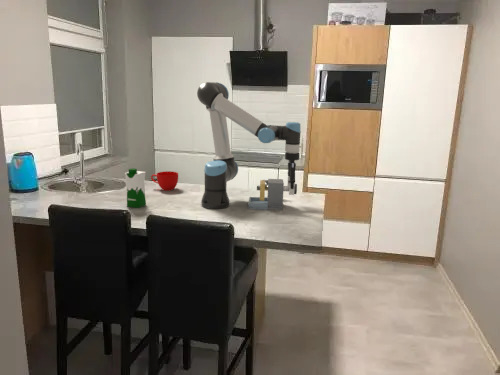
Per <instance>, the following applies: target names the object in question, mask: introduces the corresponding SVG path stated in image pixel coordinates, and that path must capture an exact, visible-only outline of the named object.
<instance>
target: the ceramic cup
mask: <svg viewBox="0 0 500 375" xmlns="http://www.w3.org/2000/svg"><path fill="white" fill-rule="evenodd" d="M153 177H156V180H155V179H154V178H153ZM150 179H151V180H152V181H153V182H154V183H155V184H158V186H159V188H161V190H162V191H173V190H174V189H175V188H176V187H177V185H178V182H179V172H177V171H159V172H157V173H156V174H152V175H151V177H150Z"/></svg>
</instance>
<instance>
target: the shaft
mask: <svg viewBox="0 0 500 375" xmlns="http://www.w3.org/2000/svg"><path fill="white" fill-rule="evenodd" d="M256 191H260V184H256ZM297 191H298V185H297V183H295V189H294V195H297ZM265 192H268V185H265ZM283 192H289V186H288V185H284V189H283Z"/></svg>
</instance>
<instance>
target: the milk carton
mask: <svg viewBox="0 0 500 375" xmlns="http://www.w3.org/2000/svg"><path fill="white" fill-rule="evenodd" d="M146 173H147V172H146V171H140V170H138V169H137V168H133V167H132V168H128V171H127V172H124V178H125V183H126V184H125V185H126V186H125V187H126V207H127V208H136V209H140V208H142V207H144V206H146V205H147V200H146V187H145V185H146V184H145V178H146Z"/></svg>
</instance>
